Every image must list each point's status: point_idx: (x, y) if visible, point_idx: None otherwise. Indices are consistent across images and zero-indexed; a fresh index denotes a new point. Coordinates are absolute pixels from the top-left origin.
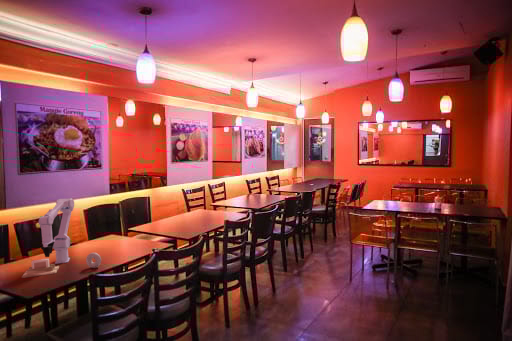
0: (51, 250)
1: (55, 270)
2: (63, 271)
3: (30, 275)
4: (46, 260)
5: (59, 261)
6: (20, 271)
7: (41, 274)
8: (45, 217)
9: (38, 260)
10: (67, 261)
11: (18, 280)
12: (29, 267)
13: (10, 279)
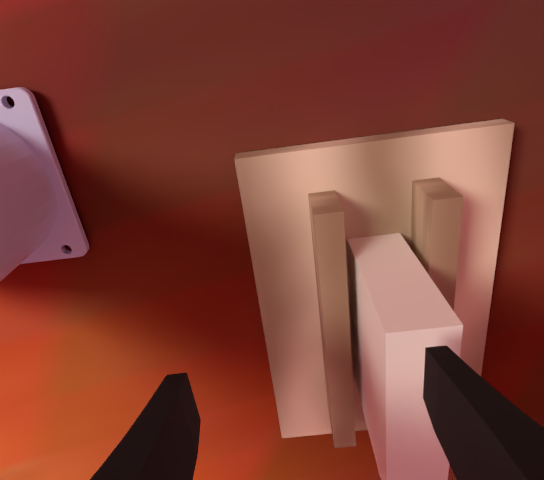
0: (168, 428)
1: (453, 141)
2: (476, 19)
3: (482, 362)
4: (456, 336)
5: (50, 210)
6: (254, 470)
7: (488, 271)
8: None
9: (429, 439)
10: (17, 97)
11: (521, 410)
12: (343, 444)
13: (450, 467)
